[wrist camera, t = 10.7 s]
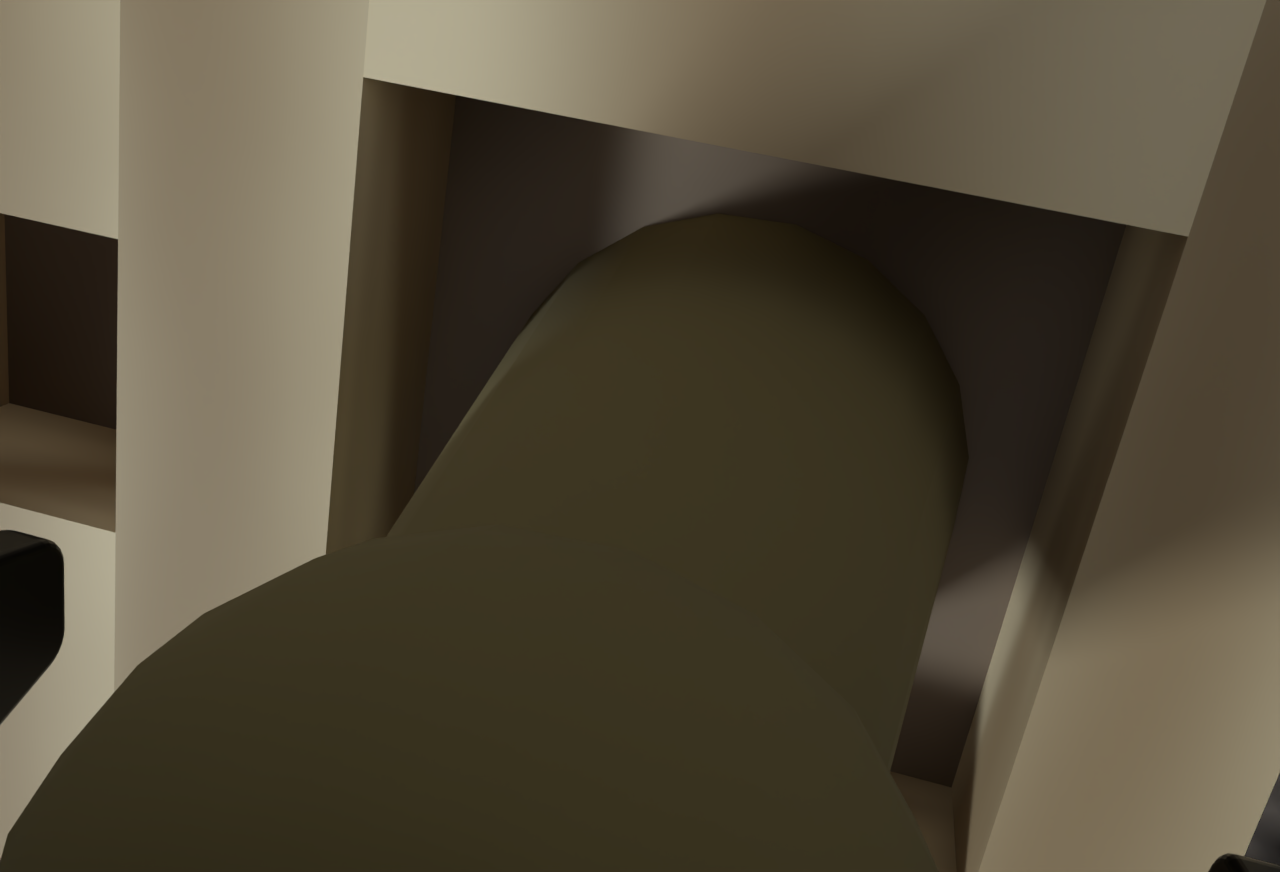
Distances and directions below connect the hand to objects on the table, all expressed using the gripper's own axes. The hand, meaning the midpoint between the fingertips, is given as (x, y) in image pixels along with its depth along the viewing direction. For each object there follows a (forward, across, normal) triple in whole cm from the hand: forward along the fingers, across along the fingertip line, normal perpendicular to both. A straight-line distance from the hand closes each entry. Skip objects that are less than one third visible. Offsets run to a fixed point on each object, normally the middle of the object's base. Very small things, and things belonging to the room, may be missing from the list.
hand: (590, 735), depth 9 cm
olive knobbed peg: (+7, 0, 0) cm, 7 cm away
